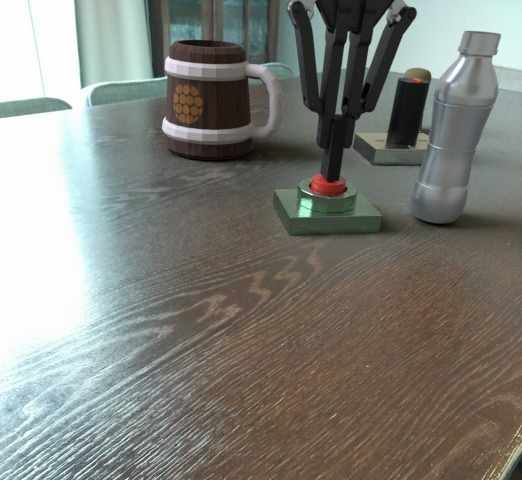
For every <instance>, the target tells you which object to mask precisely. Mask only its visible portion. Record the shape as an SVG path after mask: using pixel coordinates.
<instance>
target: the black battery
mask: <svg viewBox="0 0 522 480" xmlns="http://www.w3.org/2000/svg"><path fill="white" fill-rule="evenodd" d="M430 85H431V83H430V81H428V80H425V79H419V78H407V77H404V78H403V77H398V79H397V83H396V87H395V93H394V98H393V103H392V108H391V113H390V118H389V124H388V129H387V132H386V133H387V140H388V141H391V142H394V143H398V144H414V143H416V142H417V138H418V134H419V129H420V125H421V121H422V116H423V117H424V112H425V107H426V103H427V99H428V94H429V90H430ZM422 122H423V121H422Z"/></svg>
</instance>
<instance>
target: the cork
mask: <svg viewBox="0 0 522 480" xmlns="http://www.w3.org/2000/svg"><path fill="white" fill-rule="evenodd" d="M404 77H407V78H419V79H425V80H428V81H430V84H431V82H432V72H431V71H430V70H429V69H426V68H422V67H412V68H408V69H407V70H406V71H405V72H404V74H403V76H402V78H404ZM423 119H424V115H423V116H422V121H421V125H420V129H419V131H421V132H419V133H422V129H423V122H424V121H423Z"/></svg>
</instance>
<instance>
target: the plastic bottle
mask: <svg viewBox="0 0 522 480" xmlns="http://www.w3.org/2000/svg"><path fill="white" fill-rule="evenodd" d="M501 38H502V33H499V32H492V31H491V32H490V31H481V30H464V31H463V33H462V36H461V40H460V44H459V45H458V47H457V49H456V50H457V52H459V55H458V57H457V58H456V60H454V62H453V63H452V64H451V65H450V66H449V67H448V68H447V69H446V70H445V71H444V72H443V73H442V75H441V76H440V77H439V79H438V81H437V83H436V85H435V87H434V92H433V101H432V102H433V103H432V113H431V122H430V128H429V134H428V136H429V141H428V144H427V149H426V153H425V156H424V159H423V162H422V165H420V169H419V172H418V175H417V177H416V179H415V180H414V181H415V182H414V184H413V186H412V189H411V191H410V195H409V209H410V212H411V214H412V215H413V216H414V217H415V218H417V219H419V220H421V221H423V222H428V223H431V224H432V223H433V224H450V223H454V222H455V221H456V220H458V218H459V217H461V216H462V213H463V211H464V209H465V207H466V205H467V199H468V194H469V182H470V177H471V171H472V167H473V162H474V157H475V155H476V151H477V149H478V148H477V147H478V145H479V142H480V139H481V136H482V134H483V132H484V128H485V126H486V124H487V121H488V119H489V117H490V115H491V112H492V110H493V109H494V105H495V103H496V101H497V98H498V96H499V80H498V76H497V72H496V70H495V68H494V64H493V57H494V56H497V55H498V51H499V49H498V48H499V45H500V41H501Z"/></svg>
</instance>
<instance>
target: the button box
mask: <svg viewBox="0 0 522 480" xmlns="http://www.w3.org/2000/svg"><path fill="white" fill-rule="evenodd" d="M311 183H312V177H308V178H305V179H302V180H301V181H300V182H299V183H298V184H297V188H288V189H285V188H283V189H281V188H280V189H279V188H278V189H274V190H273V198H272V199H273V201H272V207H273V209H274V210H275V212H276V215H277V216H278V218H279V220H280V222H281V224H282V225H283V227H284V229H285V231H286V233H287V236H313V235H315V236H317V235H319V236H321V235H346V234H347V235H348V234H349V235H350V234H351V235H353V234H379V233H380V229H381V225H382V222H383V221H382V220H383V214H382V213H381V212H380V211H379V210H378V209H377V208H376V207H375V205H373V203H372V202H371V201H370V200H369V199H368V198H367V197H366V196H365V195H364V194H363V193H362V192H361V191H360V190H359V188H358V187H356V186H355V184H353V183H351V182H349V181H346V186H345V192H344V193H340V194H326V193H320V192H316V191H314V190H312V189H311Z"/></svg>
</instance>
